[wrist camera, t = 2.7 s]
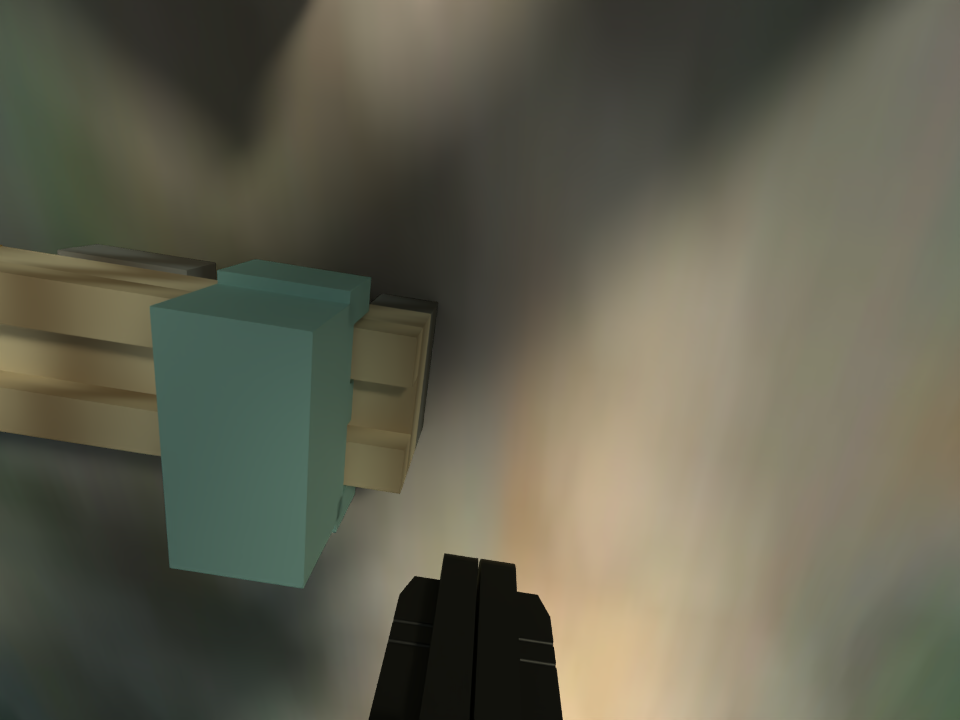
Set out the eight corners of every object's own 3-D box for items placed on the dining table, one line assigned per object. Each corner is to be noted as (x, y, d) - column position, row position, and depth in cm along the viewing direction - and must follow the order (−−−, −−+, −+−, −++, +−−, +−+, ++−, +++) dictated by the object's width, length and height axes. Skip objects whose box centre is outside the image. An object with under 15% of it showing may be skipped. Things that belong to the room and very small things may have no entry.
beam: (438, 297, 21) (411, 342, 15) (421, 431, 23) (392, 519, 17) (-127, 208, 21) (-386, 217, 15) (-91, 351, 23) (-305, 410, 17)
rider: (371, 277, 17) (313, 316, 12) (355, 493, 20) (303, 599, 15) (256, 259, 17) (148, 290, 12) (256, 477, 20) (170, 578, 15)
